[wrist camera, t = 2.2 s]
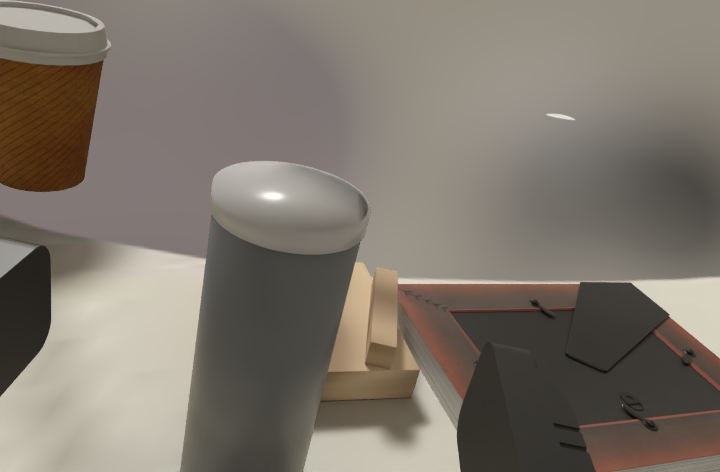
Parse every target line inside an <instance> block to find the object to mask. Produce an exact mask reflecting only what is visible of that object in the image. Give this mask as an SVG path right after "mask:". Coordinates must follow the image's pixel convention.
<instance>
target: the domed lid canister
mask: <svg viewBox="0 0 720 472" xmlns="http://www.w3.org/2000/svg"><path fill="white" fill-rule="evenodd" d="M210 210H211V214H212V216H211V223H210V231H209V240H208V248H207V256H206V264H205V272H204V281H203V289H202V297H201V305H200V313H199V322H198V330H197V338H196V346H195V354H194V362H193V371H192V379H191V387H190V395H189V403H188V412H187V420H186V428H185V436H184V444H183V453H182V461H181V469H180V472H303V469H304V465H305V461H306V457H307V453H308V449H309V445H310V441H311V437H312V433H313V429H314V425H315V421H316V417H317V413H318V409H319V405H320V401H321V397H322V393H323V389H324V385H325V381H326V377H327V373H328V369H329V365H330V361H331V357H332V353H333V349H334V345H335V341H336V337H337V333H338V329H339V325H340V321H341V317H342V313H343V309H344V305H345V301H346V297H347V293H348V289H349V285H350V281H351V277H352V273H353V269H354V265H355V261H356V257H357V253H358V249H359V245H360V241H361V240H362V239H363V238H364V235H365V233H366V229H367V225H368V221H369V217H370V213H371V206H370V203H369V201H368V199H367V198H366V196H365V195H364V194H363V193H362V192H361V191H360V190H358V189H357V188H356V187H355V186H353V185H352V184H350V183H349V182H347V181H345V180H343V179H341V178H339V177H337V176H335V175H332V174H330V173H327V172H324V171H321V170H318V169H315V168H311V167H307V166H302V165H298V164H292V163H284V162H275V161H252V162H244V163H238V164H235V165H231V166H229V167H226V168H224V169H222V170H221V171H219V172H218V173H217V174H216V175H215V177H214V179H213V182H212V189H211V199H210Z"/></svg>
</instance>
